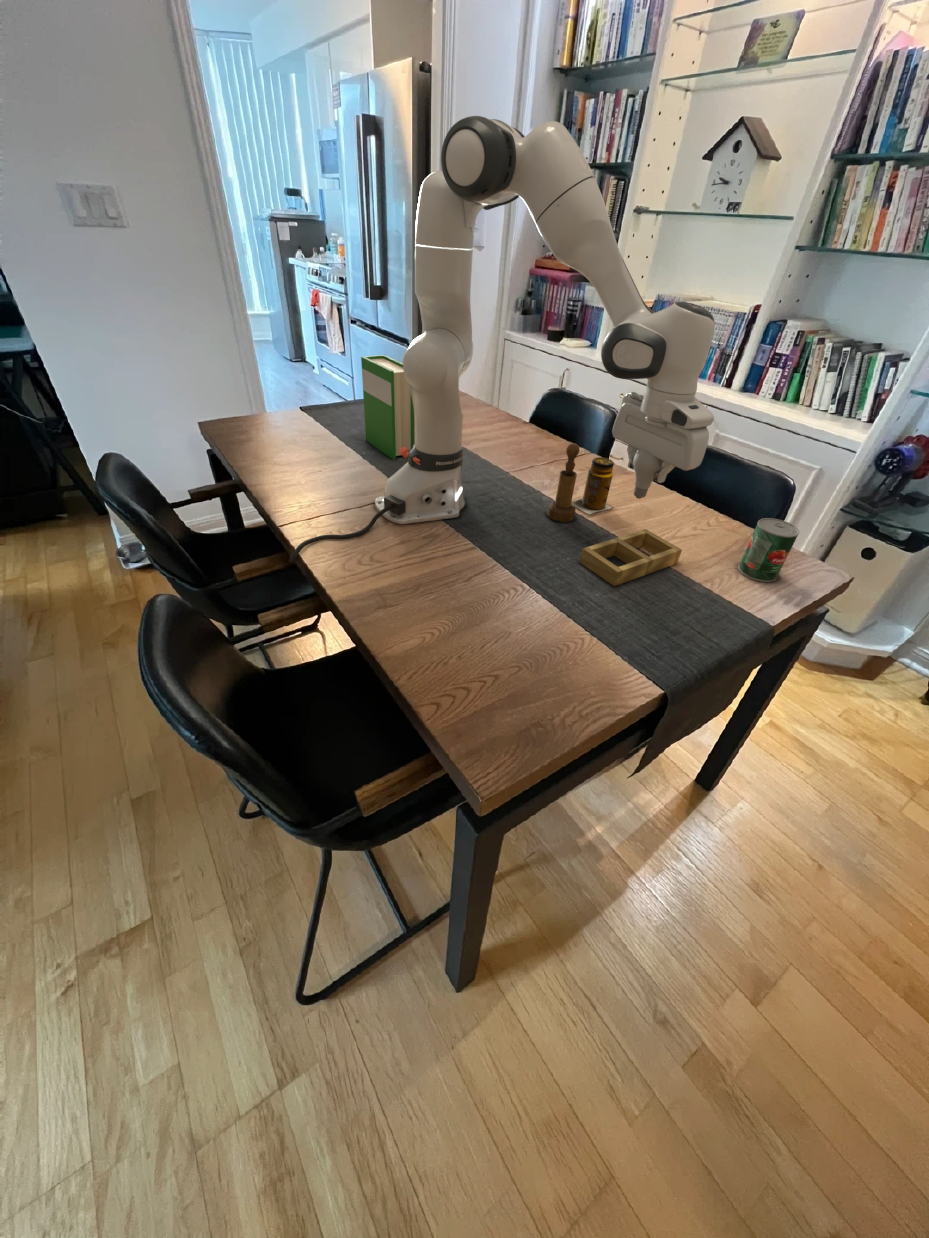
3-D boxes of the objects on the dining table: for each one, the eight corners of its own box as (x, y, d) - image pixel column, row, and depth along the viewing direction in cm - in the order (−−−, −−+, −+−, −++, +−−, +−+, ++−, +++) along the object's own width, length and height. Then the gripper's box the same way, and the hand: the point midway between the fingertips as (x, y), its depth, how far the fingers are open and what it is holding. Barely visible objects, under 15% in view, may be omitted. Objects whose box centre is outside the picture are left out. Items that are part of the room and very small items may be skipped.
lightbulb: (621, 500, 109) (636, 448, 102) (626, 489, 113) (640, 438, 106) (651, 507, 107) (668, 454, 100) (654, 495, 112) (670, 444, 105)
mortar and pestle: (576, 513, 132) (590, 442, 121) (571, 524, 127) (586, 451, 116) (550, 508, 134) (562, 437, 123) (544, 519, 129) (556, 446, 118)
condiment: (612, 508, 136) (623, 463, 129) (588, 515, 132) (598, 469, 125) (592, 497, 141) (602, 453, 133) (568, 503, 137) (577, 458, 129)
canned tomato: (774, 586, 110) (797, 540, 104) (735, 574, 113) (755, 528, 107) (778, 570, 116) (801, 525, 109) (741, 558, 119) (760, 514, 112)
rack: (614, 586, 107) (618, 572, 105) (579, 562, 114) (582, 548, 111) (677, 563, 116) (682, 549, 113) (641, 542, 122) (645, 528, 120)
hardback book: (415, 455, 157) (414, 368, 142) (393, 459, 153) (390, 371, 139) (387, 437, 168) (384, 354, 153) (366, 440, 165) (361, 356, 150)
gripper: (614, 390, 104) (598, 458, 112) (699, 423, 91) (674, 497, 99) (636, 388, 107) (619, 454, 115) (722, 419, 93) (695, 491, 102)
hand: (645, 474), depth 107 cm, fingers closed on lightbulb, 6 cm apart
